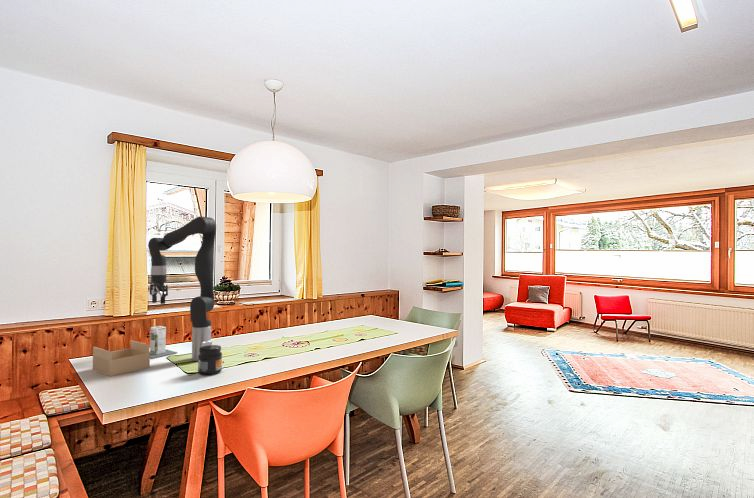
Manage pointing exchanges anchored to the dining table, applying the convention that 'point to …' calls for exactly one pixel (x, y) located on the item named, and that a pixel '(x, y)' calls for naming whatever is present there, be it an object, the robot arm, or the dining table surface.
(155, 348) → the syrup box
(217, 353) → the supplement container
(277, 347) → the dining table surface
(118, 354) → the carton
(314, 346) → the dining table surface
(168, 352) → the mat
